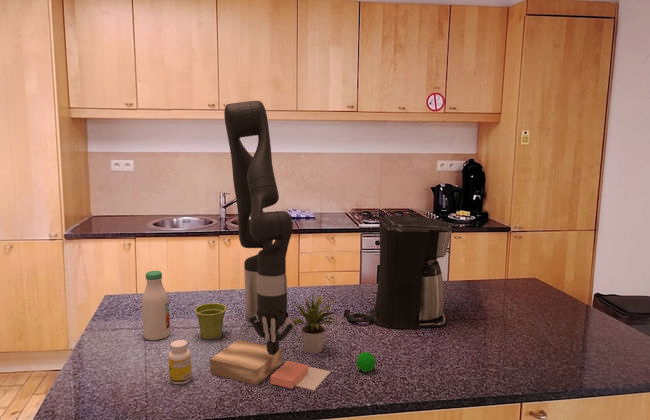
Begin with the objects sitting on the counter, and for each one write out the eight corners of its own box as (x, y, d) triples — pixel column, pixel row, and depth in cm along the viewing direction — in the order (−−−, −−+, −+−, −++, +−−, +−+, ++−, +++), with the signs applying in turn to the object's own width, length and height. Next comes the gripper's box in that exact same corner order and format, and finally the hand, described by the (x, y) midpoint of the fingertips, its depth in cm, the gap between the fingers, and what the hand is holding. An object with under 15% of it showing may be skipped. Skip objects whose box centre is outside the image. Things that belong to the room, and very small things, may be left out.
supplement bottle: (172, 374, 129) (170, 338, 128) (193, 373, 130) (192, 338, 128) (167, 385, 124) (165, 348, 122) (189, 384, 124) (188, 347, 123)
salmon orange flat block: (308, 365, 130) (308, 372, 130) (287, 360, 132) (287, 367, 133) (291, 381, 122) (291, 388, 122) (270, 376, 124) (270, 383, 125)
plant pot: (232, 331, 156) (232, 305, 154) (216, 344, 147) (216, 316, 146) (206, 327, 159) (205, 301, 157) (189, 339, 150) (188, 312, 149)
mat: (289, 363, 136) (289, 362, 136) (330, 372, 131) (330, 371, 131) (271, 380, 127) (271, 379, 127) (314, 390, 122) (314, 389, 122)
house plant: (300, 367, 133) (300, 309, 131) (277, 347, 145) (276, 293, 142) (345, 354, 141) (345, 299, 138) (319, 337, 152) (319, 285, 150)
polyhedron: (374, 375, 129) (374, 358, 129) (355, 374, 130) (355, 357, 129) (375, 366, 134) (376, 349, 133) (357, 365, 135) (357, 348, 134)
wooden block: (238, 353, 142) (238, 339, 141) (282, 362, 136) (282, 348, 135) (210, 373, 130) (209, 359, 129) (256, 385, 124) (256, 370, 124)
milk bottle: (162, 342, 148) (158, 277, 145) (138, 339, 150) (134, 275, 146) (174, 331, 156) (172, 269, 152) (152, 329, 157) (148, 268, 154)
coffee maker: (460, 323, 163) (466, 222, 158) (375, 342, 149) (378, 231, 143) (418, 301, 183) (421, 211, 178) (339, 316, 169) (341, 218, 164)
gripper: (302, 288, 127) (302, 352, 131) (256, 281, 132) (257, 343, 136) (288, 298, 121) (289, 365, 124) (241, 290, 126) (243, 355, 129)
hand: (272, 353), depth 130 cm, fingers closed
